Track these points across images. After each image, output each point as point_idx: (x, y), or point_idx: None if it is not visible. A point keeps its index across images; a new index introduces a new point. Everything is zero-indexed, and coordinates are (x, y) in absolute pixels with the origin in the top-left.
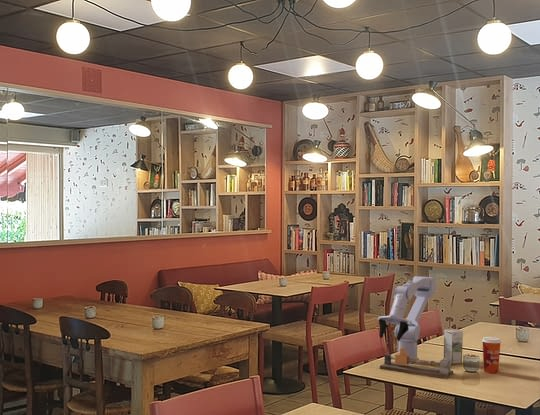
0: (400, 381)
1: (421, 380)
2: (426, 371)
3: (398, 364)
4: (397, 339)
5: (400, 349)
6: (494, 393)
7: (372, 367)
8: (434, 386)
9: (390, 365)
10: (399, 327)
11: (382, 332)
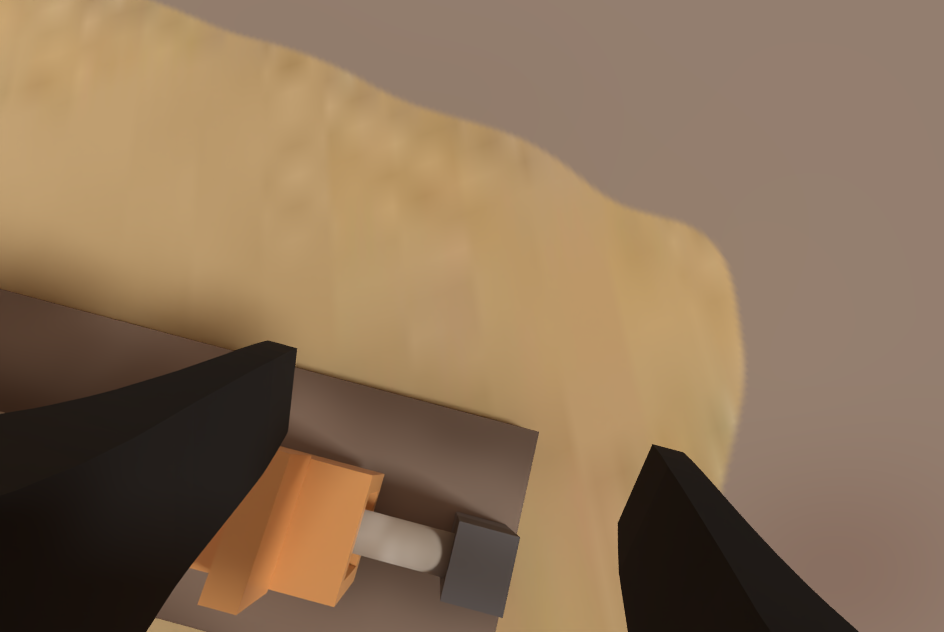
0: (318, 72)
1: (149, 149)
2: (63, 361)
3: (356, 577)
4: (287, 392)
5: (281, 451)
6: None
7: (608, 459)
8: (63, 18)
9: (436, 490)
10: (104, 453)
11: (662, 563)
